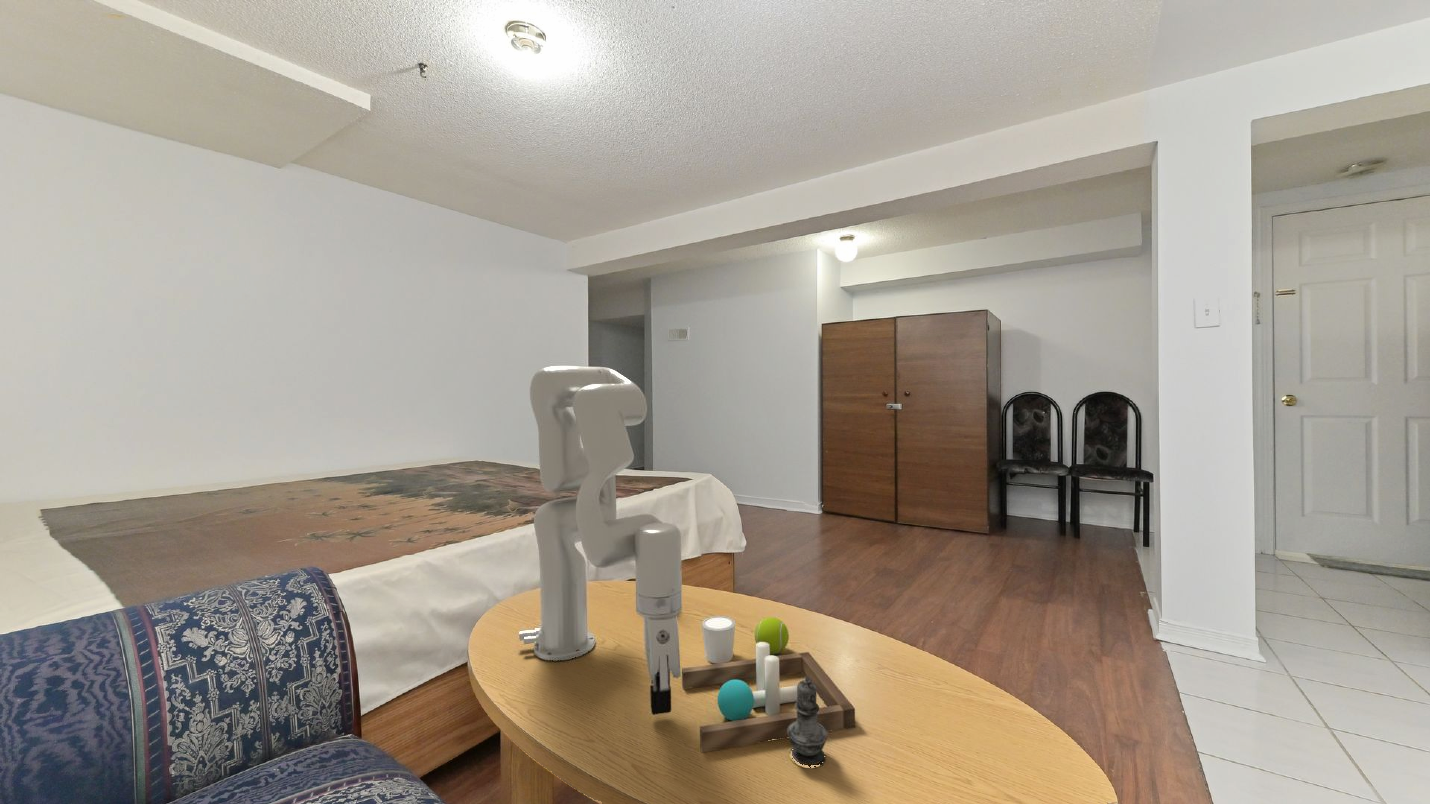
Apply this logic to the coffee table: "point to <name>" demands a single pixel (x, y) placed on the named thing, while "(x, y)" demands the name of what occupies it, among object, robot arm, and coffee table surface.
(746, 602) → the coffee table surface
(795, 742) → the dark gray figurine
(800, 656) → the bumper lane
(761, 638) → the tennis ball
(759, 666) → the pin
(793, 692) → the pin front
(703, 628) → the white cup
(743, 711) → the ball
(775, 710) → the pin
